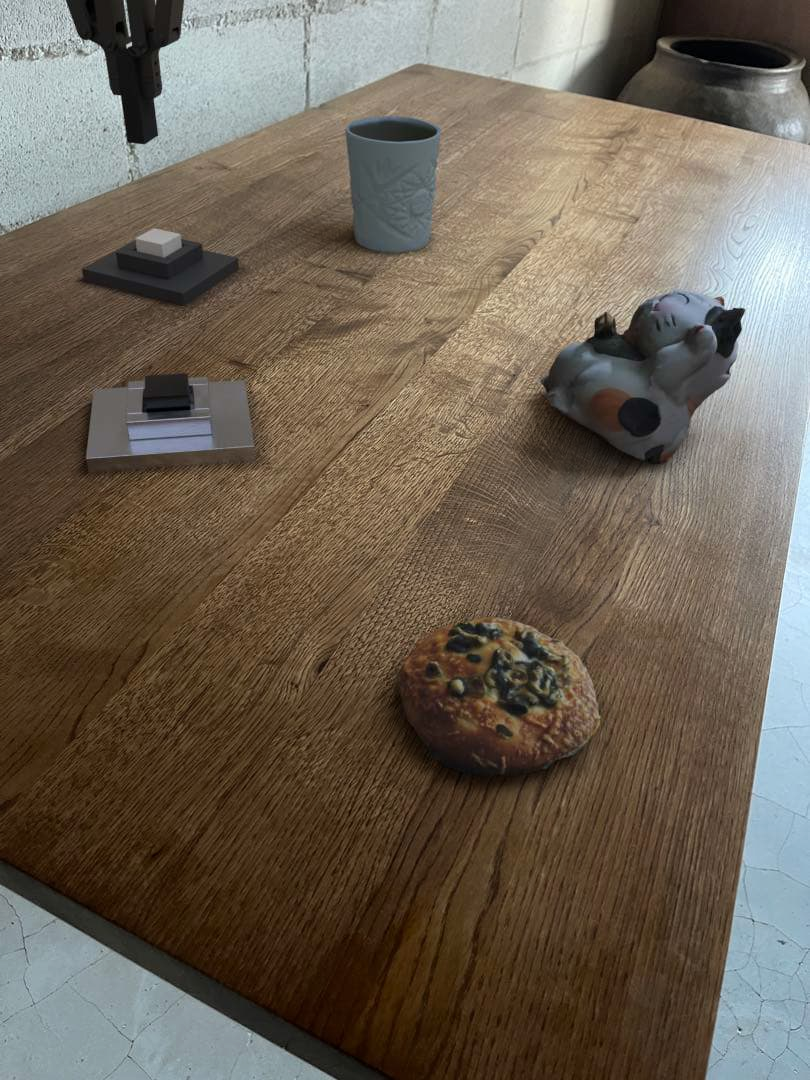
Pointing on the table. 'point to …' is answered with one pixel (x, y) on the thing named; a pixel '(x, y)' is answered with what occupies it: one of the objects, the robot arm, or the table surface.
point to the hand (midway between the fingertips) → (143, 138)
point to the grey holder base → (169, 428)
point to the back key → (158, 242)
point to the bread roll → (497, 697)
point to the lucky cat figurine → (647, 372)
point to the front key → (167, 392)
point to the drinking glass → (392, 181)
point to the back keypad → (162, 272)
